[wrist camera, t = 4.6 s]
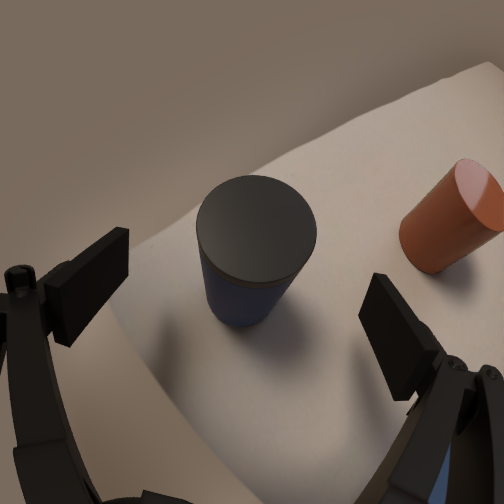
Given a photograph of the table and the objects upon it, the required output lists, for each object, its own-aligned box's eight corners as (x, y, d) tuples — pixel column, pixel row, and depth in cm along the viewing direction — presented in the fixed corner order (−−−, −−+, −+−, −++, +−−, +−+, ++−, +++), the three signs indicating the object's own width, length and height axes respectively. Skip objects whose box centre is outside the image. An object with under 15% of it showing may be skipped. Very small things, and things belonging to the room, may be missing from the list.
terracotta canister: (400, 268, 25) (464, 220, 16) (396, 206, 27) (446, 148, 19) (452, 278, 25) (517, 239, 17) (445, 220, 27) (498, 172, 19)
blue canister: (200, 320, 21) (183, 270, 12) (213, 256, 23) (210, 166, 13) (270, 332, 22) (312, 292, 12) (278, 267, 24) (319, 186, 14)
